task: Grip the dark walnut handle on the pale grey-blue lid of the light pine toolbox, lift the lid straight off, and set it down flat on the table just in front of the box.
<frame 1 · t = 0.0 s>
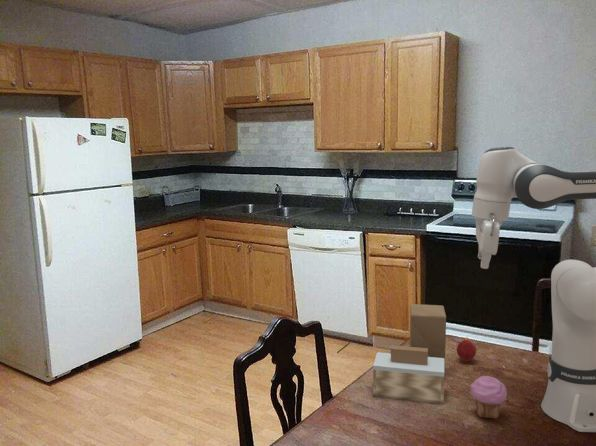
hand: (482, 263, 132), 39 cm above the table, tool pointing down, fingers open, 8 cm apart
cupcake: (487, 415, 132), on the table
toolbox: (408, 392, 144), on the table
wooden block: (426, 372, 156), on the table
onion: (466, 362, 163), on the table
toolbox lid: (409, 365, 143), point 8 cm above the table, touching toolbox
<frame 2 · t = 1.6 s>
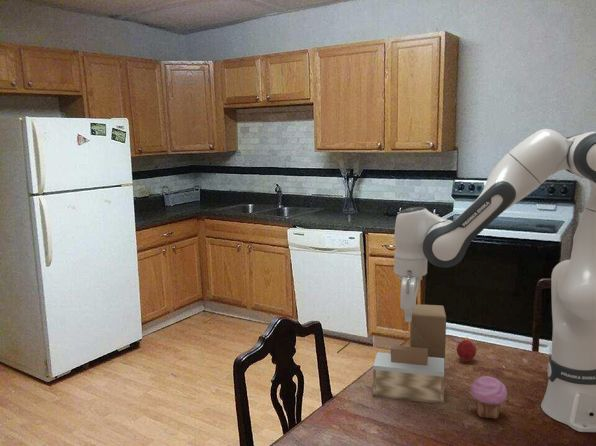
hand: (409, 315, 140), 23 cm above the table, tool pointing down, fingers open, 8 cm apart
nothing on the table moved.
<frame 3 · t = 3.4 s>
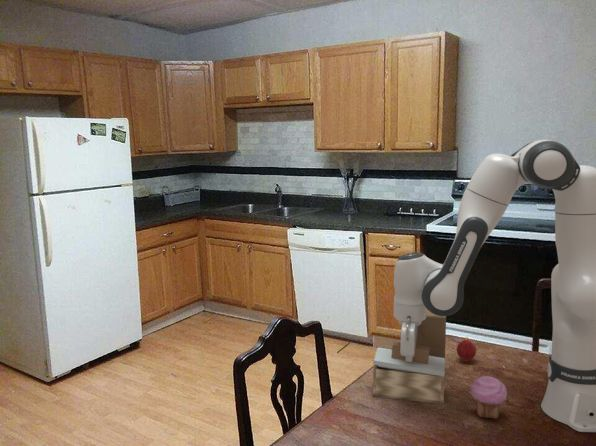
hand: (409, 358, 142), 10 cm above the table, tool pointing down, fingers closed on toolbox lid, 2 cm apart
toolbox lid: (409, 363, 143), point 9 cm above the table, touching gripper
everything else where it was.
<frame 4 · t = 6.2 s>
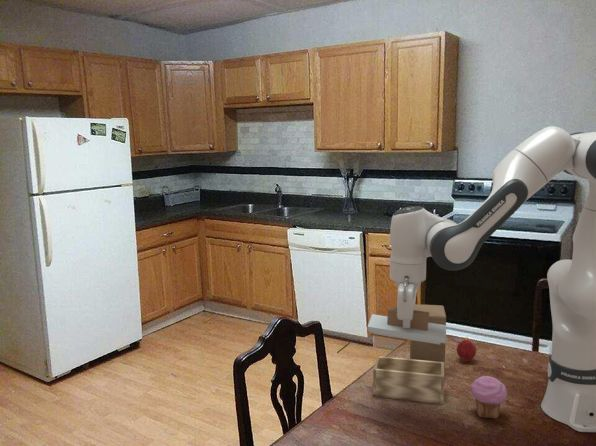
hand: (407, 324, 129), 25 cm above the table, tool pointing down, fingers closed on toolbox lid, 2 cm apart
toolbox lid: (406, 330, 129), point 23 cm above the table, touching gripper
everything else where it was.
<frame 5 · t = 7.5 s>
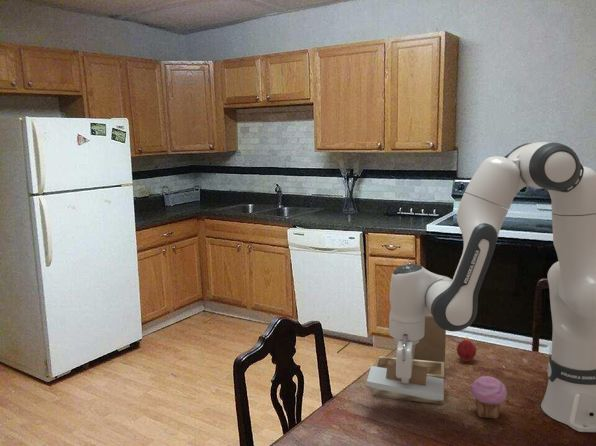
hand: (405, 378, 131), 10 cm above the table, tool pointing down, fingers closed on toolbox lid, 2 cm apart
toolbox lid: (405, 384, 131), point 9 cm above the table, tilted 5°, touching gripper
everything else where it was.
when the fingers open (5 cm above the table, at t = 8.7 s): toolbox lid drops 3 cm, point 1 cm above the table.
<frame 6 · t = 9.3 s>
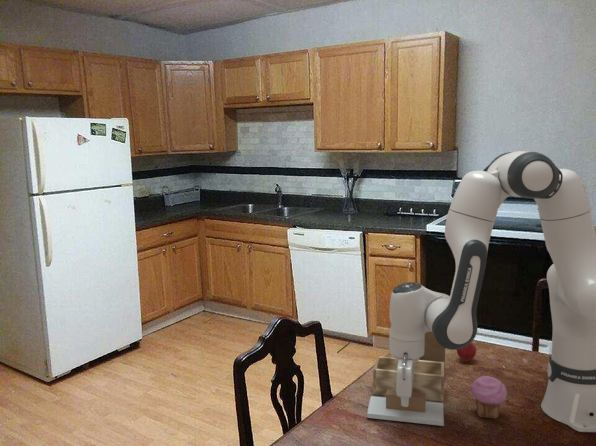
hand: (406, 395, 132), 5 cm above the table, tool pointing down, fingers open, 8 cm apart
toolbox lid: (405, 412, 133), point 1 cm above the table
everything else where it was.
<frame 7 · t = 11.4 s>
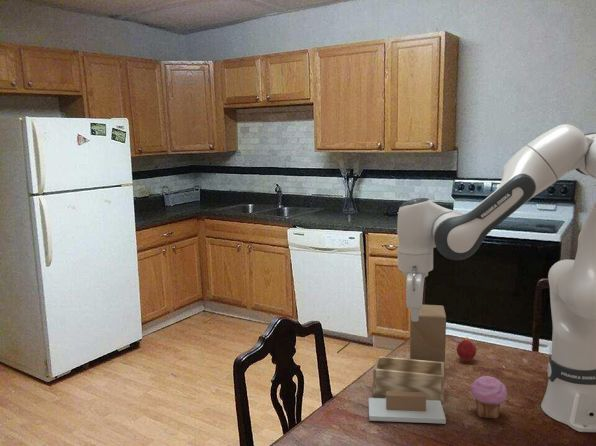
hand: (415, 313, 132), 26 cm above the table, tool pointing down, fingers open, 8 cm apart
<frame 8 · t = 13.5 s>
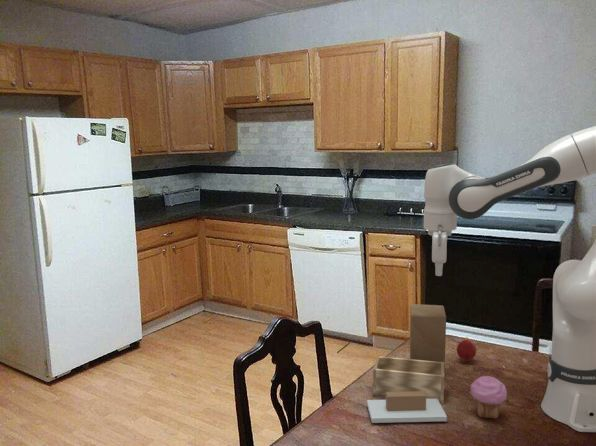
hand: (438, 270, 143), 34 cm above the table, tool pointing down, fingers open, 8 cm apart
at the end: toolbox lid inside the target area (0.1 cm from its centre), point 0.6 cm above the table; toolbox lid tilted 0°; the gripper is holding nothing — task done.
